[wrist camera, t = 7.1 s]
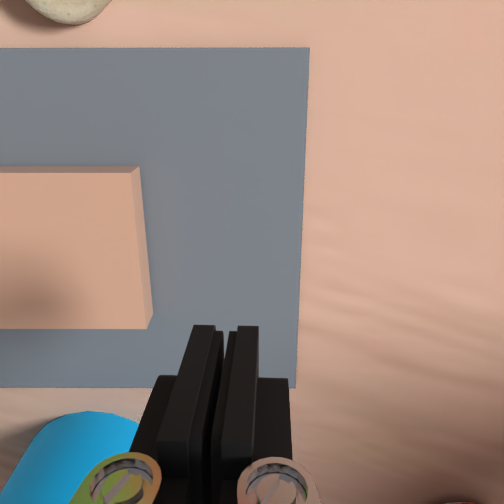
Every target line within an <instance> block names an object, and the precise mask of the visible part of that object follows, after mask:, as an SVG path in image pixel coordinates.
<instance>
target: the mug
mask: <svg viewBox="0 0 504 504" xmlns="http://www.w3.org/2000/svg"><path fill="white" fill-rule="evenodd" d="M138 426H139V424H137V423H136V422H134V421H131V420H129V419H126V418H123V417H120V416H117V415H114V414H111V413H101V412H91V411H86V412H80V413H74V414H67V415H64V416H62V417H60V418H58V419H56V420H54V421H52V422H50V423H48V424H46V426H45V427H44V428H43V429H42V430H41V431H40V432H39V433H38V434H37V435H36V436H35V437H34V439H33V440H32V442H31V444H30V445H29V447H28V448H27V450H26V452H25V453H24V455H23V457H22V458H21V460H20V461H19V463H18V465H17V466H16V468H15V470H14V471H13V473H12V475H11V476H10V478H9V479H8V481H7V483H6V484H5V486H4V488H3V489H2V491H1V493H0V504H68V503H69V502H70V500H71V499H72V497H73V495H74V494H75V492H76V491H77V489H78V488H79V486H80V485H81V483H82V482H83V480H84V479H85V477H86V476H87V475H88V473H89V472H90V471H91V470H92V469H93V468H94V467H95V466H96V465H97V464H99V463H100V462H102V461H103V460H105V459H107V458H109V457H111V456H114V455H116V454H121V453H126V452H129V449H130V447H131V444H132V442H133V439H134V436H135V434H136V431H137V429H138Z"/></svg>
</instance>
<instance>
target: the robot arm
mask: <svg viewBox="0 0 504 504" xmlns="http://www.w3.org/2000/svg"><path fill="white" fill-rule="evenodd" d="M68 504H321V502H320V498H319V495H318V491H317V488H316V484H315V482H314V480H313V478H312V476H311V474H310V473H309V472H308V471H307V470H306V469H305V468H304V467H303V466H302V465H300V464H298V463H297V462H295V461H293V460H292V442H291V422H290V403H289V384H288V378H264V377H259V326H238V327H237V331H229V336H228V341H227V347H226V353H225V359H224V333H223V331H216V326H215V325H193V328H192V331H191V334H190V337H189V340H188V343H187V347H186V350H185V353H184V356H183V359H182V362H181V365H180V368H179V371H178V374H177V375H159V376H158V378H157V380H156V382H155V385H154V387H153V390H152V392H151V395H150V398H149V400H148V403H147V405H146V408H145V411H144V413H143V416H142V418H141V421H140V423H139V426H138V429H137V431H136V434H135V436H134V439H133V442H132V444H131V447H130V449H129V452H126V453H121V454H116V455H114V456H111V457H109V458H107V459H105V460H103V461H102V462H100V463H99V464H97V465H96V466H95V467H94V468H93V469H92V470H91V471H90V472H89V473H88V475H87V476H86V477H85V479H84V480H83V482H82V483H81V485H80V486H79V488H78V489H77V491H76V492H75V494H74V495H73V497H72V499H71V500H70V502H69V503H68Z"/></svg>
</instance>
